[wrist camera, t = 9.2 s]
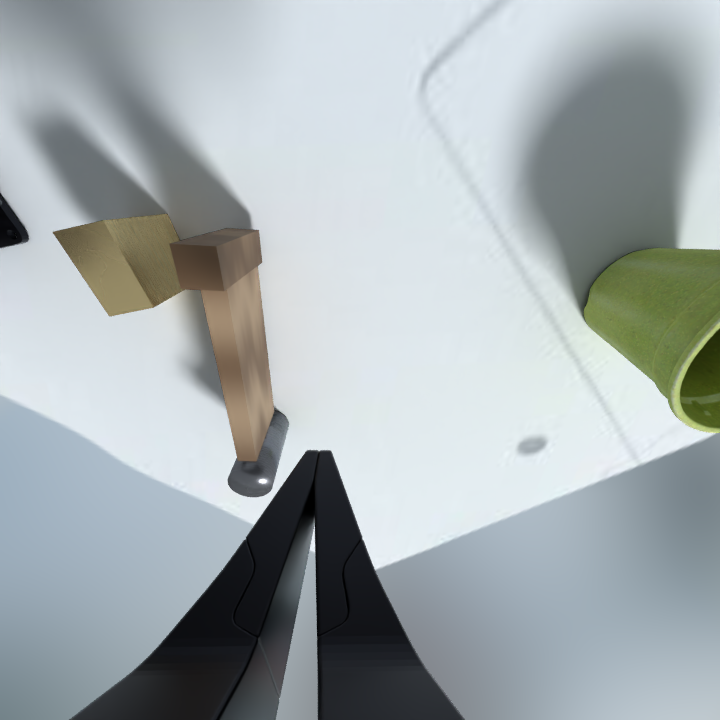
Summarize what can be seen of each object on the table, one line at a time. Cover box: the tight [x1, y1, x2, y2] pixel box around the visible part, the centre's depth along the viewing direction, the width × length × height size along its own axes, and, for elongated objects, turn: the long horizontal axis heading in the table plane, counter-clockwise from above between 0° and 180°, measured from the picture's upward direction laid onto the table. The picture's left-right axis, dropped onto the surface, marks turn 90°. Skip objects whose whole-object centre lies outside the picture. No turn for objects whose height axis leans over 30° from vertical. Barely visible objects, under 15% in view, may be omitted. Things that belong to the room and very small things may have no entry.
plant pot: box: [584, 248, 720, 433], centre depth 16 cm, size 9×9×9 cm
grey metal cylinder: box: [228, 410, 289, 497], centre depth 22 cm, size 3×3×6 cm
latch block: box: [53, 214, 185, 316], centre depth 16 cm, size 2×4×5 cm, turn 11°
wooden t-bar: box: [170, 228, 274, 461], centre depth 17 cm, size 14×2×6 cm, turn 176°
